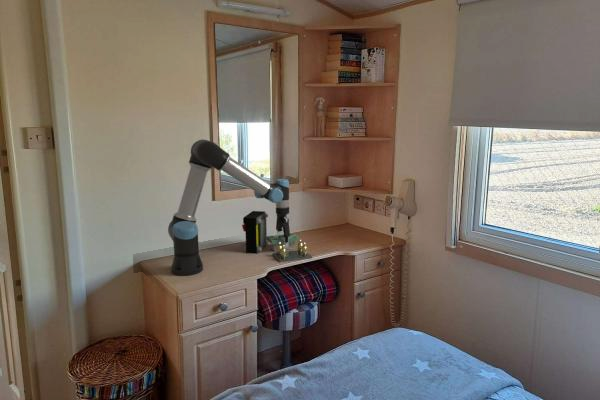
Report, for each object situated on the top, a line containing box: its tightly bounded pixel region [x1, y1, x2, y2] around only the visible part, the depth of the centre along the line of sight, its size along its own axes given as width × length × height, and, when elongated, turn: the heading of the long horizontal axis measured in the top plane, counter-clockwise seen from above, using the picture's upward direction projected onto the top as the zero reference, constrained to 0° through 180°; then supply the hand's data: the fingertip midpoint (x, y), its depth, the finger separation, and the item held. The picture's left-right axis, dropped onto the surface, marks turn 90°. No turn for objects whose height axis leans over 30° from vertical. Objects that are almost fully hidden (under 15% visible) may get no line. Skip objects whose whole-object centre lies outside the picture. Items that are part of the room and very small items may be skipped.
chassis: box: [272, 238, 313, 263], centre depth 233 cm, size 18×13×8 cm
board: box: [267, 233, 300, 245], centre depth 246 cm, size 16×10×3 cm, turn 111°
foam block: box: [271, 242, 295, 252], centre depth 247 cm, size 12×5×5 cm, turn 111°
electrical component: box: [241, 210, 269, 255], centre depth 246 cm, size 18×10×20 cm, turn 168°
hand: (282, 245), depth 247 cm, fingers closed on board, 10 cm apart
